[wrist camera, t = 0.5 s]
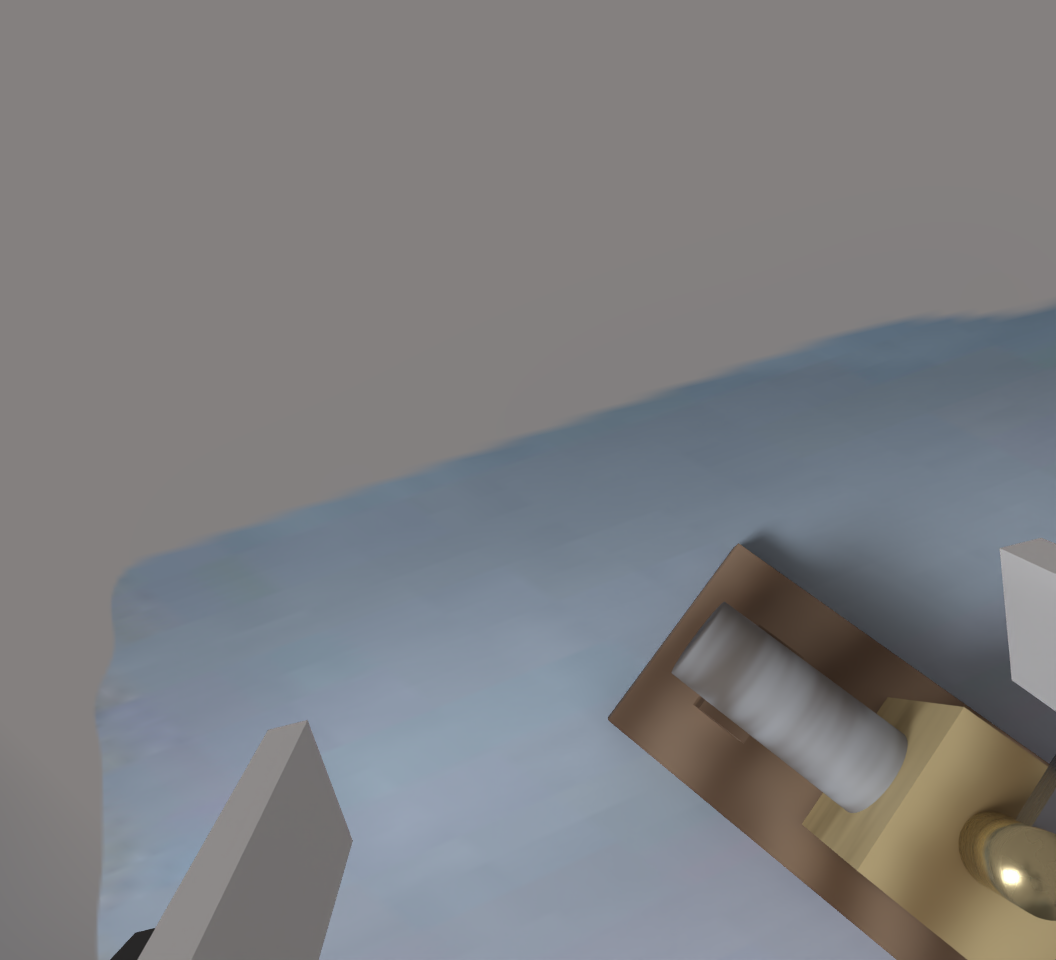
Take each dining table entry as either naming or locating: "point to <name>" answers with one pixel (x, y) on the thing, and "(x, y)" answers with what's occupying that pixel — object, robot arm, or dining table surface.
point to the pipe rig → (837, 763)
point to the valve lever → (1017, 850)
